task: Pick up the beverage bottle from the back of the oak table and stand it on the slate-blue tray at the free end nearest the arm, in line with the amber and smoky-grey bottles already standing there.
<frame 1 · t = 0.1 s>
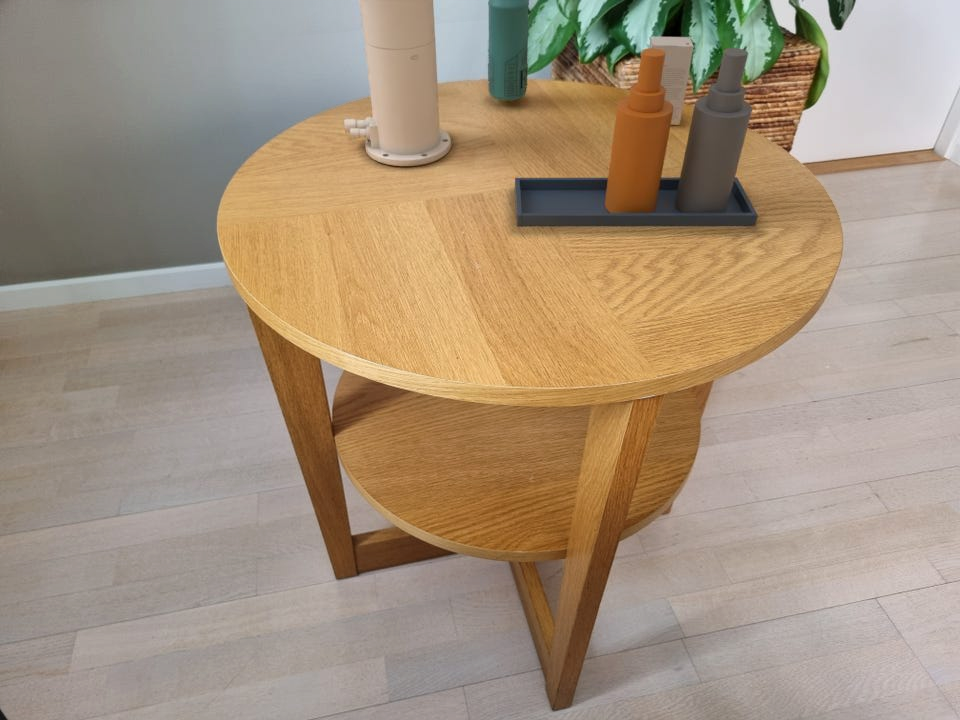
amber bottle: (629, 206, 89), point 1 cm above the table, touching tray
cosmetic box: (658, 120, 111), on the table
beverage bottle: (507, 103, 117), on the table
grey bottle: (700, 206, 89), point 1 cm above the table, touching tray
tray: (629, 211, 90), on the table
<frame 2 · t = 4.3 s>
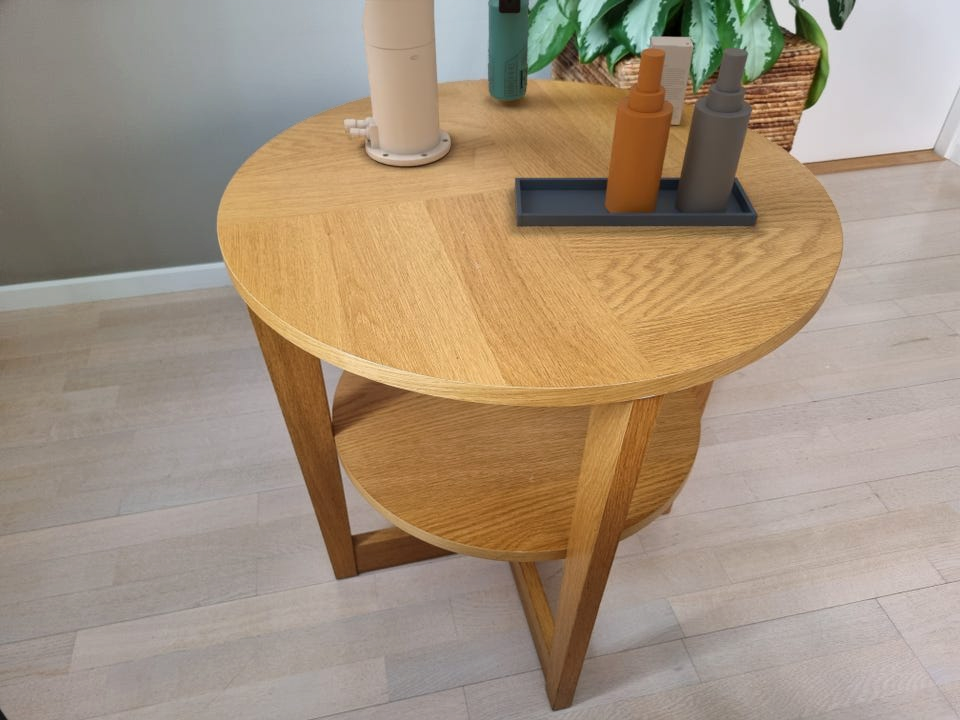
hand: (509, 4, 106), 15 cm above the table, tool pointing down, fingers closed on beverage bottle, 6 cm apart
beverage bottle: (507, 103, 117), on the table, touching gripper
everything else where it was.
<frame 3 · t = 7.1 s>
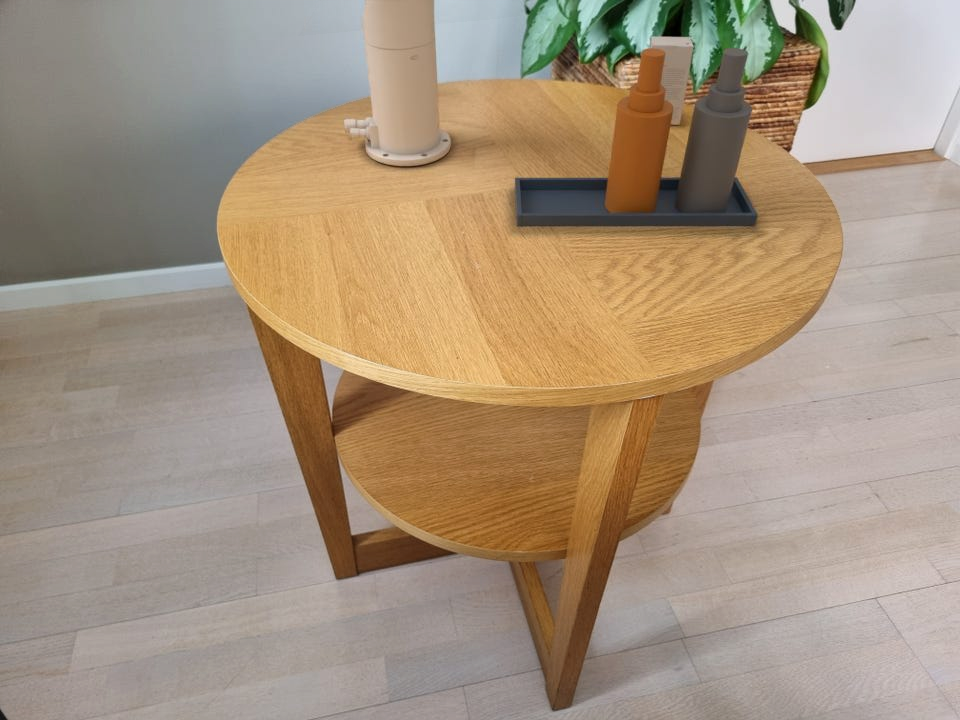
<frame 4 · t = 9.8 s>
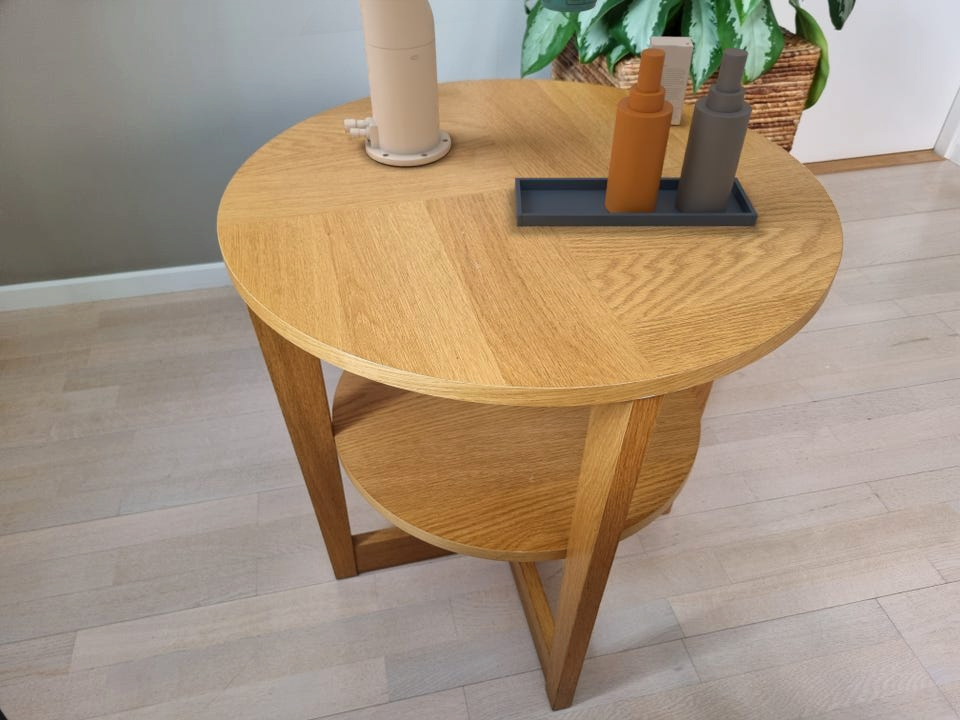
beverage bottle: (566, 20, 78), point 22 cm above the table, touching gripper
everything else where it was.
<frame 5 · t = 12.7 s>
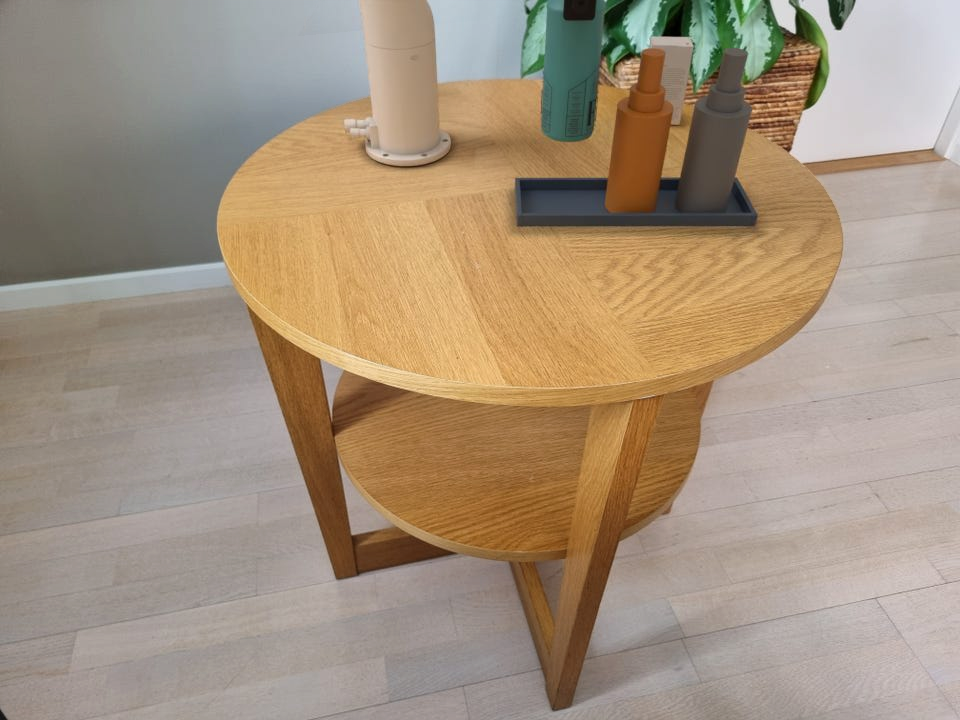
hand: (575, 7, 74), 24 cm above the table, tool pointing down, fingers closed on beverage bottle, 6 cm apart
beverage bottle: (565, 144, 84), point 9 cm above the table, touching gripper
everything else where it was.
when the fingers open (16 cm above the table, at t = 15.2 s): beverage bottle stays where it is, resting on tray.
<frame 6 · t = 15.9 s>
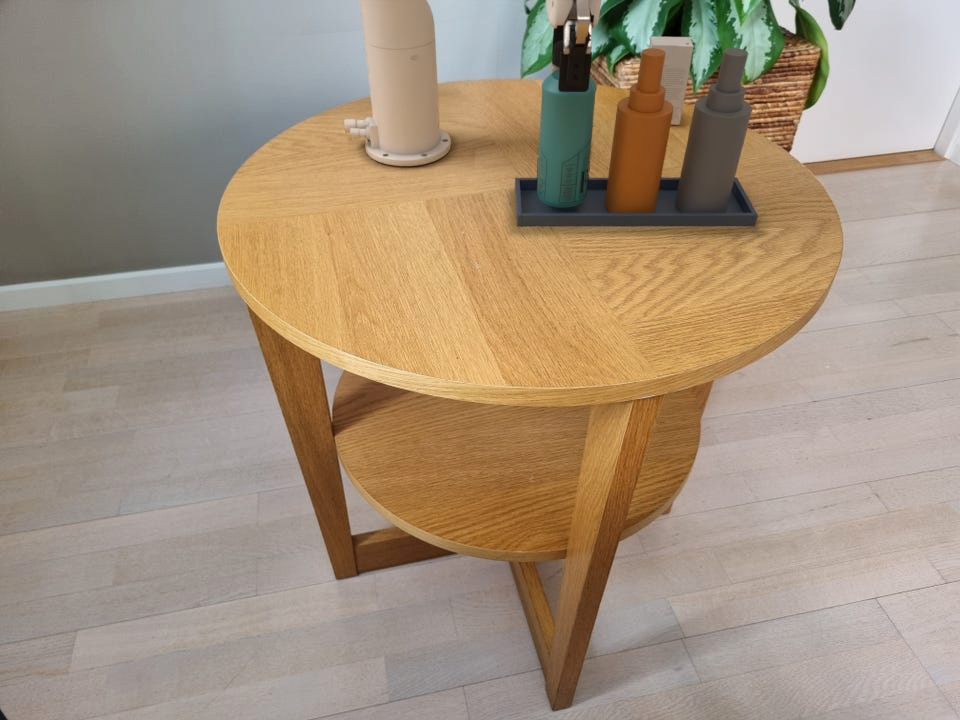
hand: (569, 74, 78), 17 cm above the table, tool pointing down, fingers open, 9 cm apart
beverage bottle: (560, 207, 90), point 1 cm above the table, touching tray
everything else where it was.
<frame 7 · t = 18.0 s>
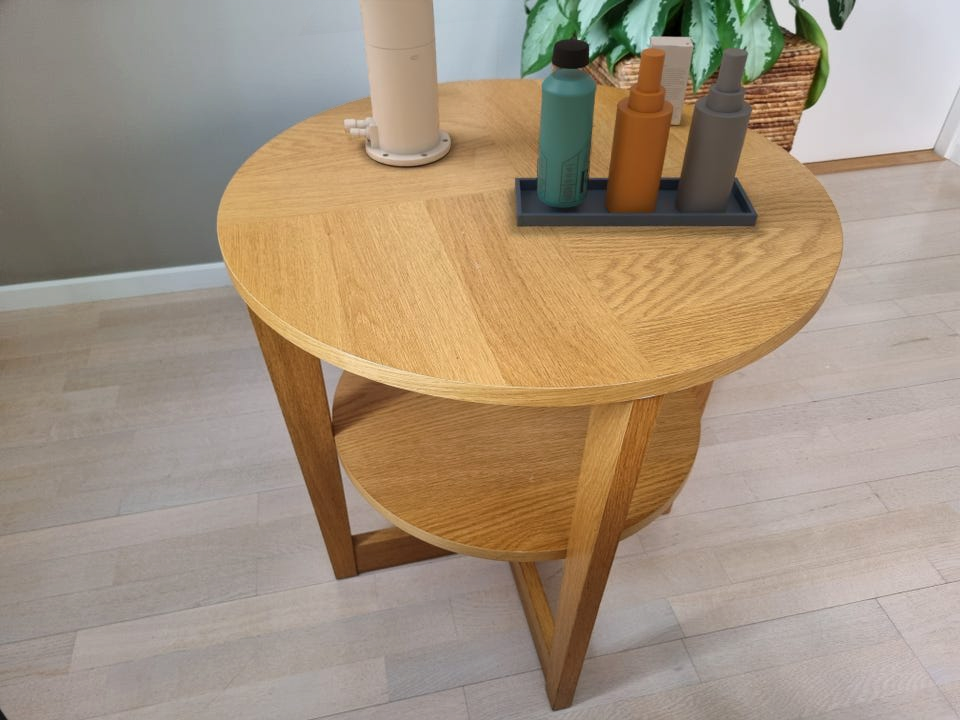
nothing on the table moved.
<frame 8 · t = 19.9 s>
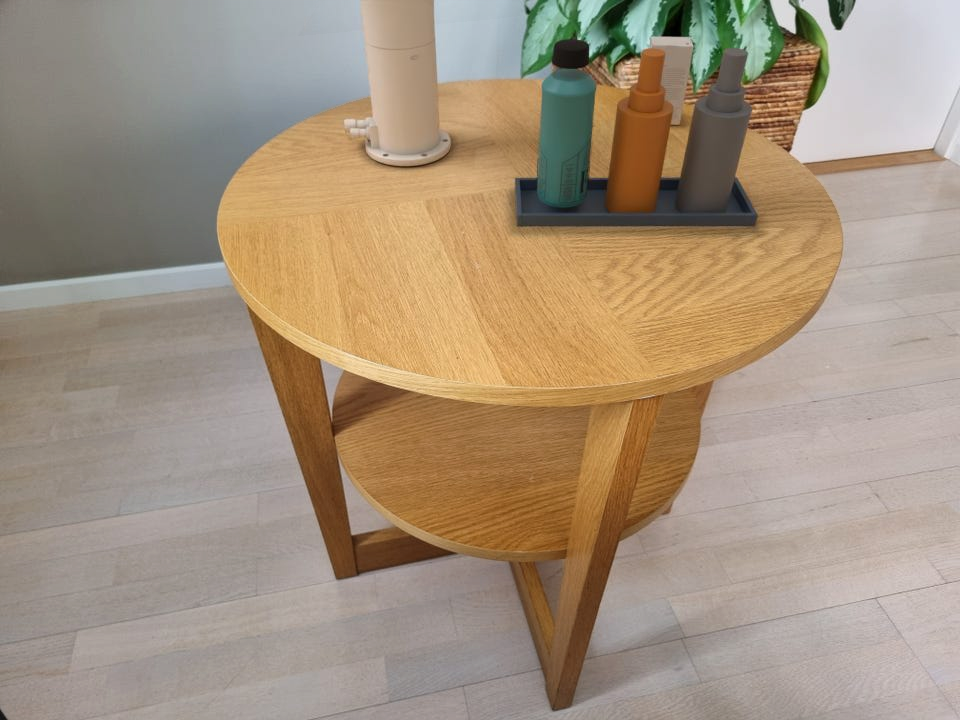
nothing on the table moved.
at the end: beverage bottle 0.1 cm from the target spot in the tray, point 0.6 cm above the tray's base; beverage bottle tilted 0°; the gripper is holding nothing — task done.
